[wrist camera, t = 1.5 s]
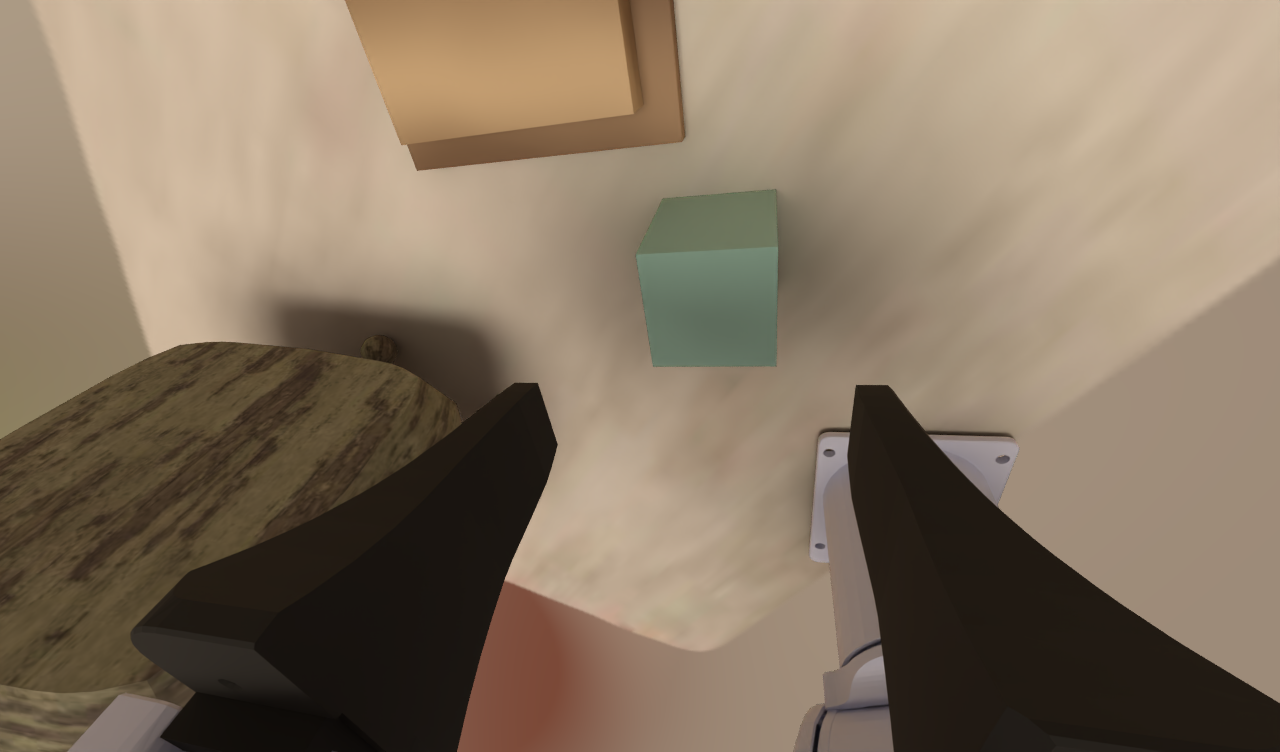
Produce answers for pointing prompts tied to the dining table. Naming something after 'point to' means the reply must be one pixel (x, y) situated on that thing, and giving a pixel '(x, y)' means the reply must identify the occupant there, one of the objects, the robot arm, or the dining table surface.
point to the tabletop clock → (175, 503)
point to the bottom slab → (642, 128)
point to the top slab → (498, 63)
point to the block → (711, 280)
